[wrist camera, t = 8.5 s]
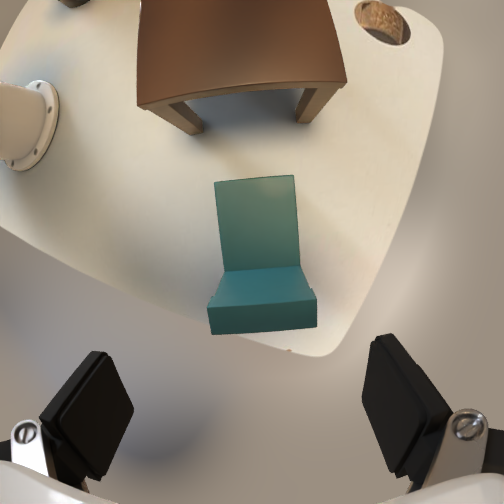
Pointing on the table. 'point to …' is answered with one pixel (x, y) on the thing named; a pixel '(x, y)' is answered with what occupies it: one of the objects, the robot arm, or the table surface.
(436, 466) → the robot arm
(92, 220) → the table surface
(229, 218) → the chair
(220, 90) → the side table
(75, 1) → the water bottle
